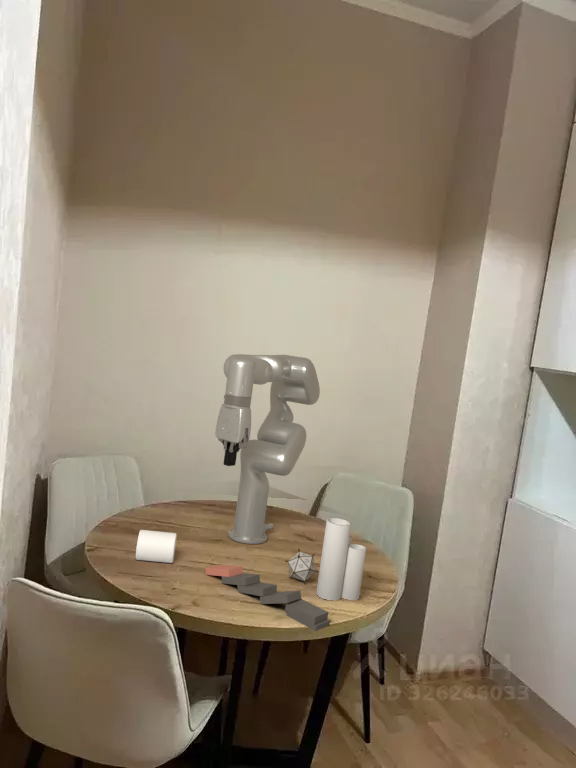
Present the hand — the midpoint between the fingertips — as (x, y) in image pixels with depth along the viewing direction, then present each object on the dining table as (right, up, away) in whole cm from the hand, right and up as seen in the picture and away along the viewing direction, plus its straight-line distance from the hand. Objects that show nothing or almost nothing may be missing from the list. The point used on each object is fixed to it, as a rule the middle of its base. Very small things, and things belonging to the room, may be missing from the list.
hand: (229, 464), depth 184 cm
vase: (+29, -33, -14) cm, 46 cm away
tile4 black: (+12, -30, -23) cm, 40 cm away
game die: (+20, -31, -7) cm, 37 cm away
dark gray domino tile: (+6, -29, -18) cm, 35 cm away
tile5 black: (+18, -30, -28) cm, 45 cm away
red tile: (-4, -27, -10) cm, 29 cm away
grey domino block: (+18, -32, -28) cm, 46 cm away
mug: (-20, -25, -4) cm, 33 cm away
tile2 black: (+1, -28, -14) cm, 31 cm away
